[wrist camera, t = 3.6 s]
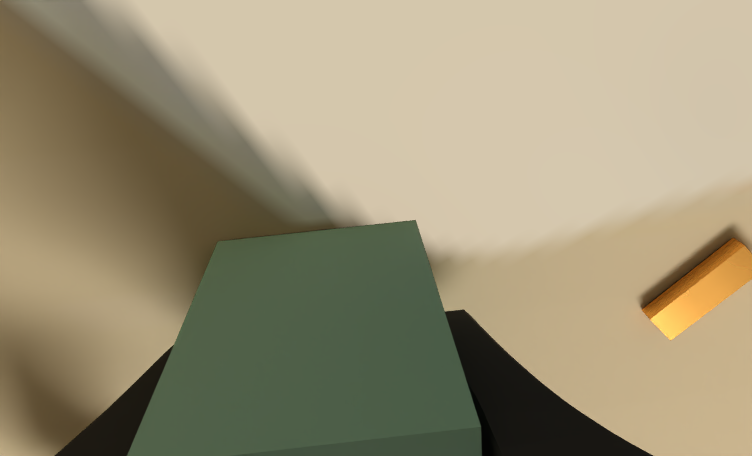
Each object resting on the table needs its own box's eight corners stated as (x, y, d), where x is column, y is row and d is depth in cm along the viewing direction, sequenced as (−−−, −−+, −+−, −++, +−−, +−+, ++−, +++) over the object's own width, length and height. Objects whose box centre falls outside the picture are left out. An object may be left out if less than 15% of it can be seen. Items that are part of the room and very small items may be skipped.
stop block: (251, 400, 14) (197, 688, 8) (217, 241, 12) (122, 467, 7) (427, 380, 14) (486, 653, 8) (416, 220, 12) (480, 426, 7)
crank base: (362, 617, 17) (363, 639, 16) (251, 551, 16) (248, 573, 15) (788, 304, 14) (807, 318, 13) (692, 188, 12) (708, 198, 12)
